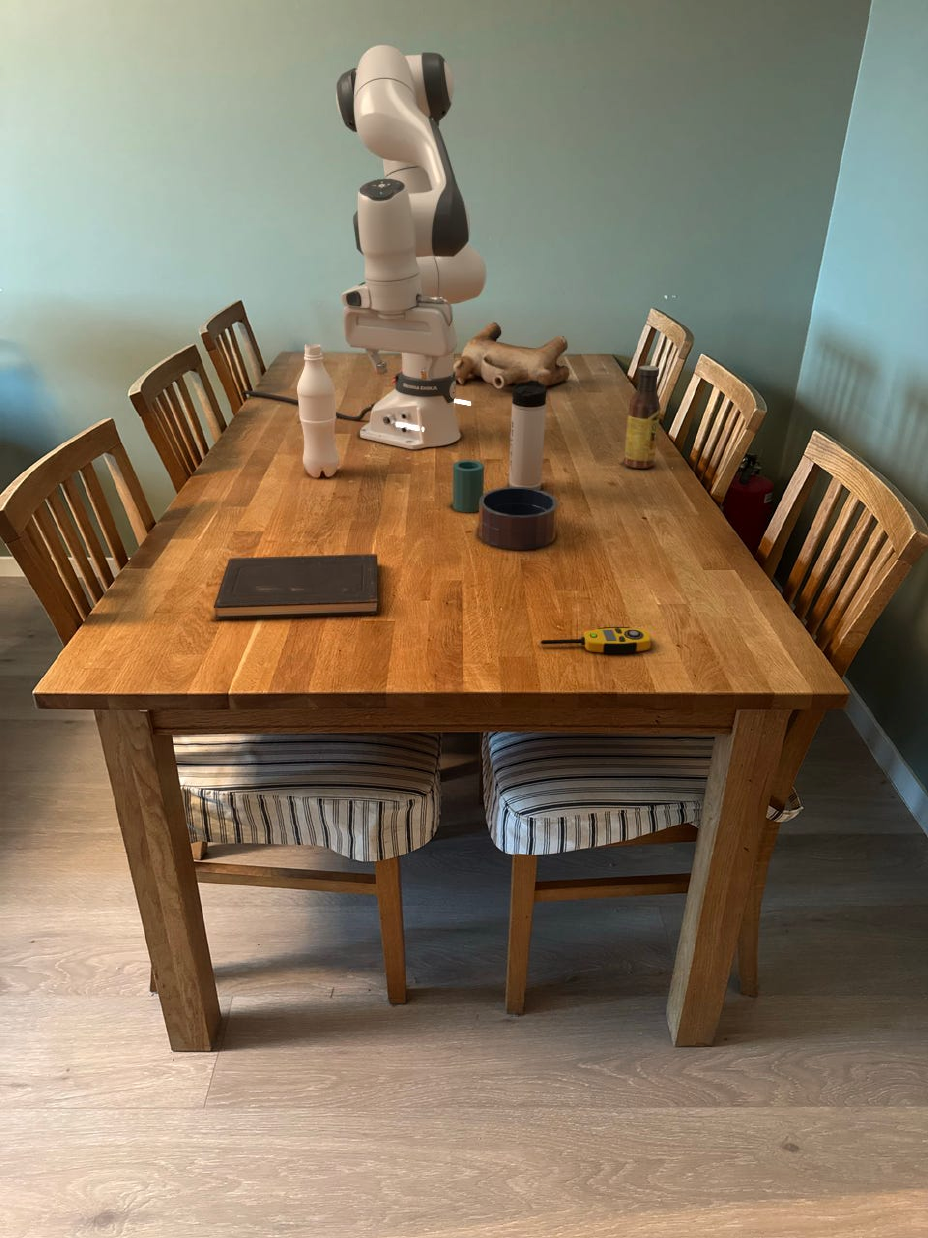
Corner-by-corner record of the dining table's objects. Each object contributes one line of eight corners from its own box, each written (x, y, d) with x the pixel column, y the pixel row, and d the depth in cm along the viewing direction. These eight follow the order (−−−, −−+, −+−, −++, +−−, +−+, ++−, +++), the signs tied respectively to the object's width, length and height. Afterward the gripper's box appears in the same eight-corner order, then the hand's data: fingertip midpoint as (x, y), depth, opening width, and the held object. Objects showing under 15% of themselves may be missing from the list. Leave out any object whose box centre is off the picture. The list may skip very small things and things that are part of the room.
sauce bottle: (653, 471, 178) (665, 373, 168) (622, 468, 179) (632, 371, 169) (653, 460, 184) (665, 364, 174) (623, 458, 185) (633, 362, 175)
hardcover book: (377, 614, 127) (377, 600, 125) (215, 620, 125) (213, 606, 124) (377, 565, 140) (377, 552, 139) (231, 569, 139) (229, 556, 137)
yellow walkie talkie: (654, 641, 117) (543, 644, 116) (653, 653, 118) (542, 656, 117) (645, 623, 121) (538, 625, 120) (644, 635, 122) (537, 637, 121)
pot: (467, 542, 148) (468, 509, 145) (493, 513, 159) (494, 482, 156) (543, 555, 144) (545, 522, 141) (563, 525, 155) (566, 493, 152)
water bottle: (346, 470, 177) (339, 343, 164) (327, 482, 171) (318, 351, 159) (316, 464, 179) (307, 339, 167) (296, 476, 174) (285, 347, 161)
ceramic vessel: (483, 312, 243) (427, 339, 227) (579, 337, 229) (527, 368, 213) (482, 357, 251) (428, 386, 235) (575, 384, 237) (524, 417, 221)
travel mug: (545, 483, 172) (551, 381, 162) (536, 495, 166) (542, 390, 156) (514, 479, 173) (518, 378, 163) (504, 491, 168) (508, 387, 158)
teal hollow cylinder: (448, 510, 160) (448, 468, 156) (459, 499, 164) (459, 458, 160) (476, 514, 158) (477, 472, 154) (487, 503, 163) (488, 462, 159)
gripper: (460, 291, 139) (466, 375, 147) (354, 283, 148) (365, 364, 156) (440, 302, 135) (448, 389, 143) (332, 294, 144) (345, 376, 152)
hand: (404, 376), depth 149 cm, fingers open, 8 cm apart
